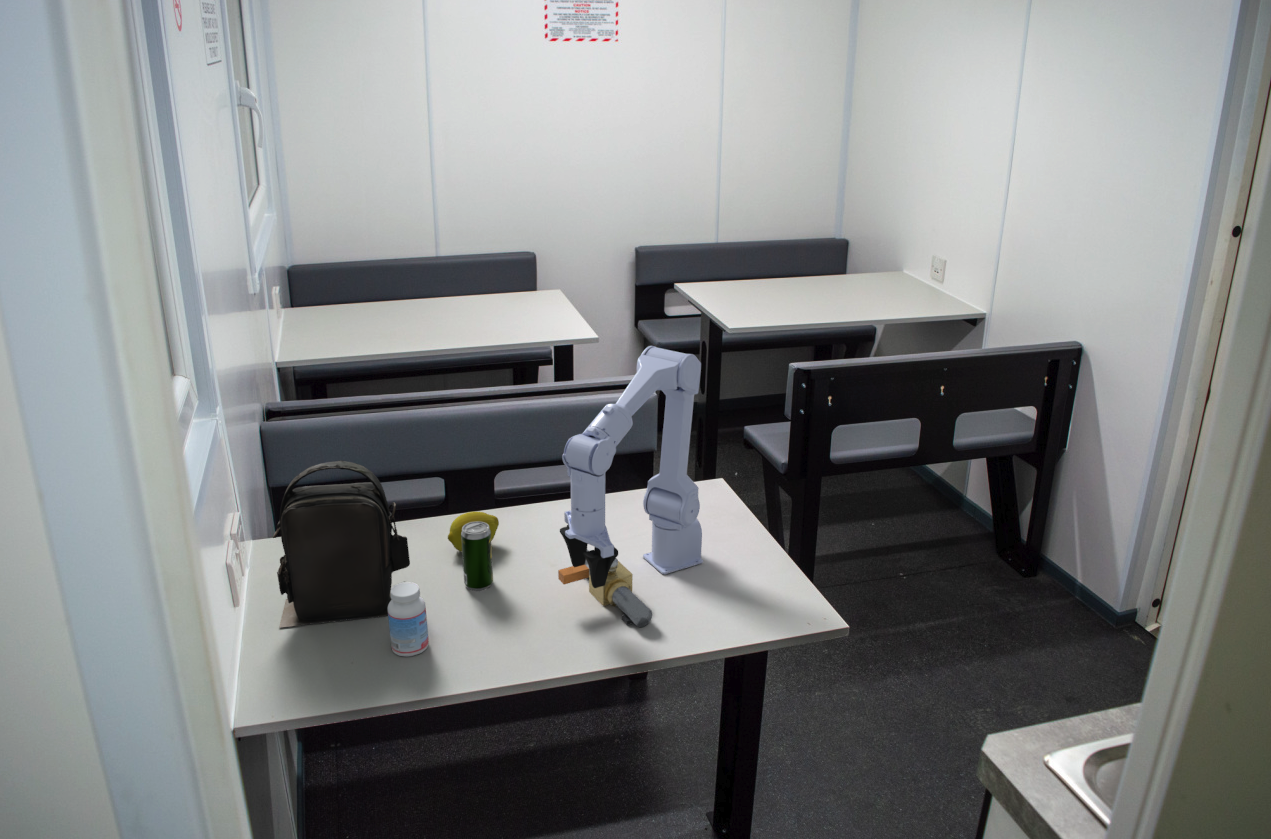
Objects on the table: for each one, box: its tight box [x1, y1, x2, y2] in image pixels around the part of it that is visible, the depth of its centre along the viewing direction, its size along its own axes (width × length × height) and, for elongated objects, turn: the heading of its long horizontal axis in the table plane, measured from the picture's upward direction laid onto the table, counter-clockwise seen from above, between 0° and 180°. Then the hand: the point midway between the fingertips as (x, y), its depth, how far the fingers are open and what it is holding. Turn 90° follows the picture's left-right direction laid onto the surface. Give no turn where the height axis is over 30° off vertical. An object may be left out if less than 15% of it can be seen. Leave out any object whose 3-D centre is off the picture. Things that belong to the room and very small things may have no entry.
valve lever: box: [557, 557, 619, 585], centre depth 161 cm, size 11×3×2 cm, turn 120°
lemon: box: [447, 511, 500, 553], centre depth 179 cm, size 11×8×8 cm
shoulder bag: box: [272, 460, 411, 629], centre depth 155 cm, size 23×9×28 cm, turn 103°
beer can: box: [461, 521, 494, 592], centre depth 166 cm, size 5×5×12 cm
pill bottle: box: [387, 581, 430, 657], centre depth 147 cm, size 6×6×11 cm
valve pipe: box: [585, 548, 654, 628], centre depth 164 cm, size 6×24×5 cm, turn 30°
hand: (588, 575), depth 154 cm, fingers open, 7 cm apart
